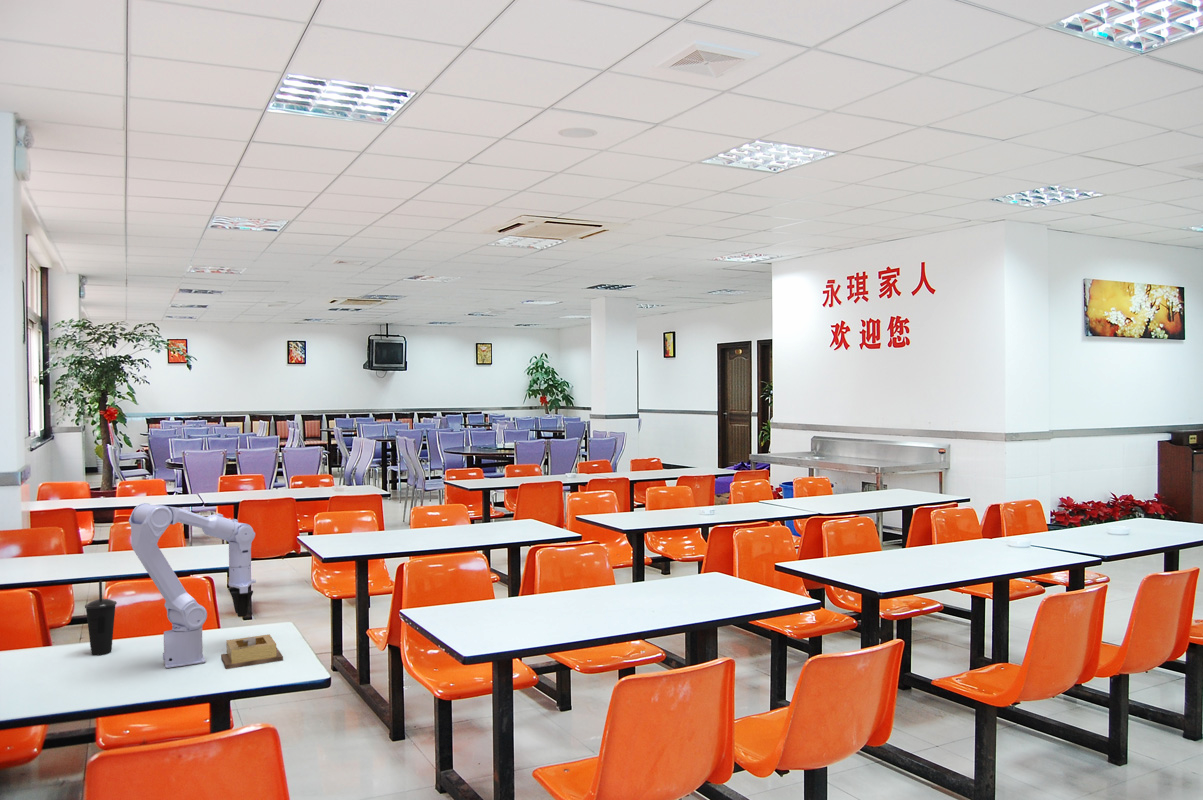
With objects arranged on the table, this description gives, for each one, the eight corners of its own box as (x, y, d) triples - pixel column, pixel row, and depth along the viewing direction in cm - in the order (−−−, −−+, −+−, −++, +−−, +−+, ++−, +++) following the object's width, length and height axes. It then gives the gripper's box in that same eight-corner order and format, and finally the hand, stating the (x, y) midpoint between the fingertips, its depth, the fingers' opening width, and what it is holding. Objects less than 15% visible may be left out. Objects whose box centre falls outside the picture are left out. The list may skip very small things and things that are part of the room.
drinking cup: (123, 649, 242) (122, 578, 242) (101, 657, 235) (100, 584, 235) (101, 648, 244) (100, 577, 244) (78, 656, 237) (77, 583, 237)
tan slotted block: (231, 663, 225) (231, 650, 225) (226, 653, 234) (226, 640, 234) (276, 657, 230) (276, 643, 230) (269, 647, 240) (269, 634, 240)
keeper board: (225, 669, 224) (225, 647, 224) (221, 658, 233) (220, 637, 233) (283, 660, 230) (282, 639, 230) (276, 650, 240) (275, 629, 240)
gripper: (259, 568, 238) (260, 617, 238) (251, 560, 251) (252, 607, 251) (231, 571, 235) (232, 621, 235) (225, 562, 247) (226, 610, 247)
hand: (240, 614), depth 243 cm, fingers open, 4 cm apart
